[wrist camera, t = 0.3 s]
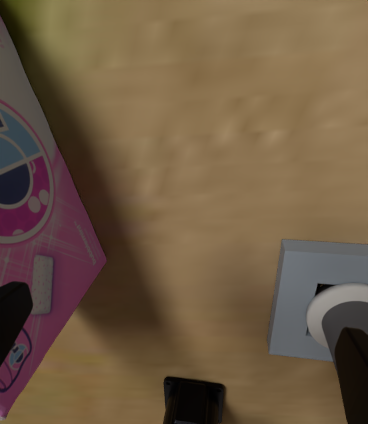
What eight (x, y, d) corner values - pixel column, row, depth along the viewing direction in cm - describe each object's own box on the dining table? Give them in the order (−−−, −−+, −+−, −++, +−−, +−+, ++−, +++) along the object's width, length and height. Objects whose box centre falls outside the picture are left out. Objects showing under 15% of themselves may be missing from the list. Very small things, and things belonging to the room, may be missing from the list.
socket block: (394, 353, 26) (404, 369, 25) (267, 339, 28) (268, 354, 26) (440, 249, 21) (455, 262, 20) (282, 239, 23) (284, 250, 21)
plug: (373, 331, 25) (436, 451, 17) (296, 323, 26) (322, 434, 18) (395, 272, 22) (482, 382, 15) (308, 265, 23) (345, 366, 16)
